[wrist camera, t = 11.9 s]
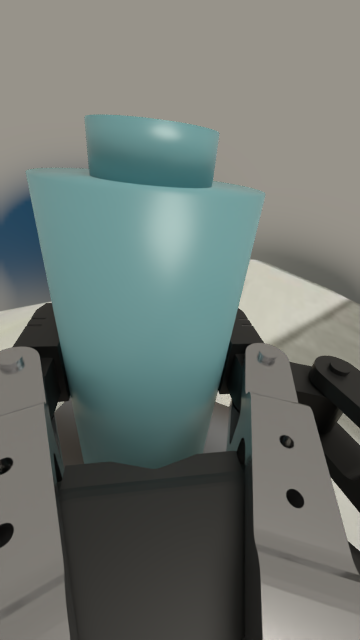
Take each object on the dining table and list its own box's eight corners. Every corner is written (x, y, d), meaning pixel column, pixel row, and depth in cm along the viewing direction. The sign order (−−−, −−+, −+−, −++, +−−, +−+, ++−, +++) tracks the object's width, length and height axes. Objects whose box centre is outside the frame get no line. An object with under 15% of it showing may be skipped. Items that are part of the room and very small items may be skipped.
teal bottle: (126, 402, 15) (118, 133, 8) (210, 437, 14) (285, 146, 7) (61, 490, 11) (-67, 93, 4) (172, 553, 10) (263, 108, 3)
